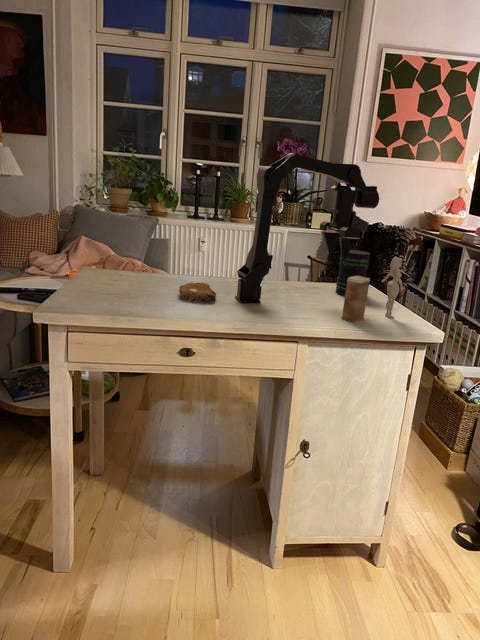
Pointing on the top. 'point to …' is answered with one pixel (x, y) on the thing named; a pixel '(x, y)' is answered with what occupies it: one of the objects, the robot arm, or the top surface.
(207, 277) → the top surface
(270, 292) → the top surface
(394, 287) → the human figurine
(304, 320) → the top surface
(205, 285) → the decorative rock
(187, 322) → the top surface
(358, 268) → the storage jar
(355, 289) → the walnut block
